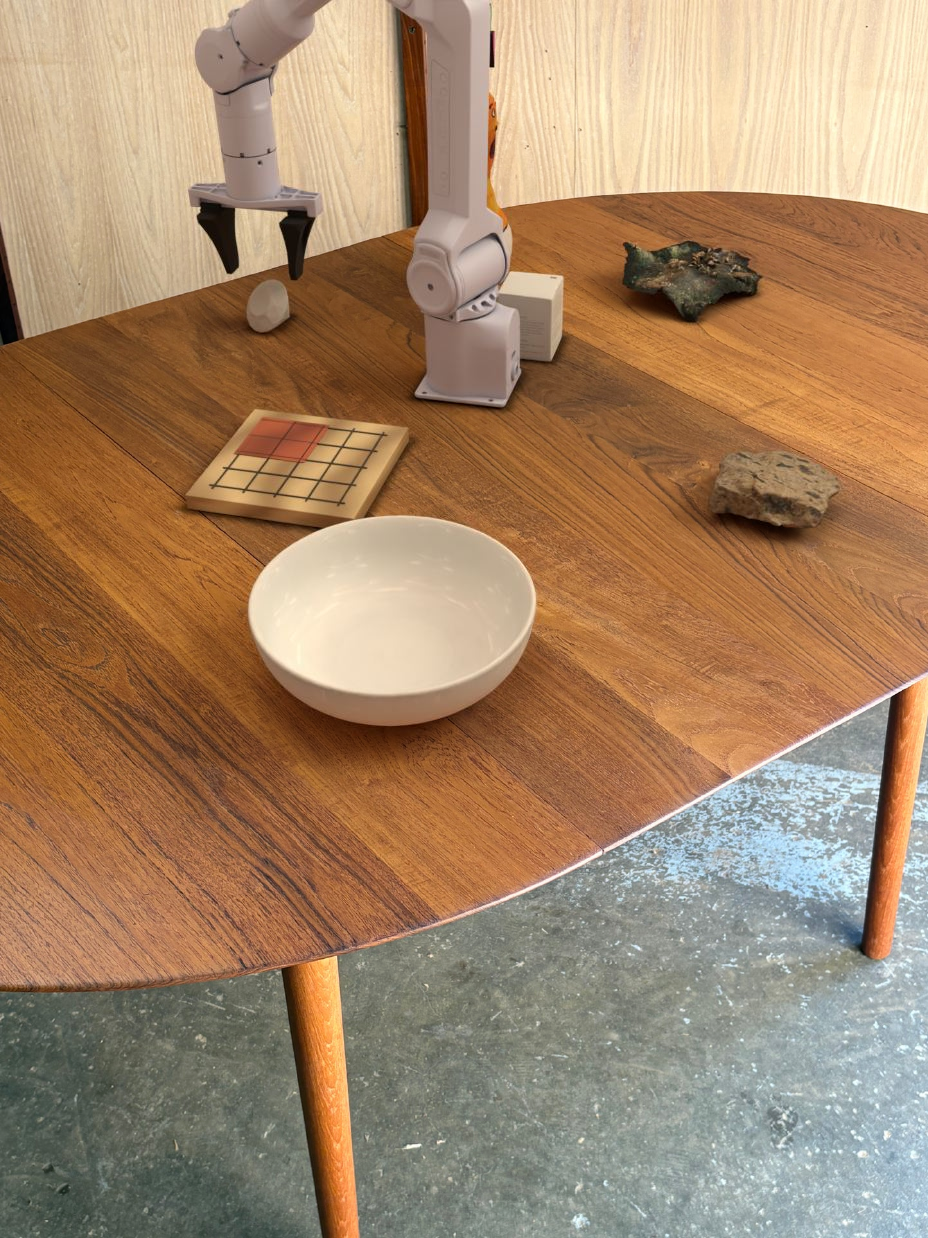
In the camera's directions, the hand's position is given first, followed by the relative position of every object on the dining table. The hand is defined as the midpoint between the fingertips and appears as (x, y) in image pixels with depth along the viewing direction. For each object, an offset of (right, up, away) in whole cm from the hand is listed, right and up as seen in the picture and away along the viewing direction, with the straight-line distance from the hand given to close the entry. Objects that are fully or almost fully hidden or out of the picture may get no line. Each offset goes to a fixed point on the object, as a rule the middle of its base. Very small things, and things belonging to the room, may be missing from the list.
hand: (264, 273), depth 135 cm
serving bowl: (+17, -42, -43) cm, 62 cm away
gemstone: (0, -5, +4) cm, 6 cm away
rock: (+50, -28, -27) cm, 63 cm away
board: (+7, -25, -21) cm, 33 cm away
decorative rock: (+49, +1, +10) cm, 50 cm away
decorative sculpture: (+24, +3, +12) cm, 27 cm away
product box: (+29, -9, -2) cm, 31 cm away
